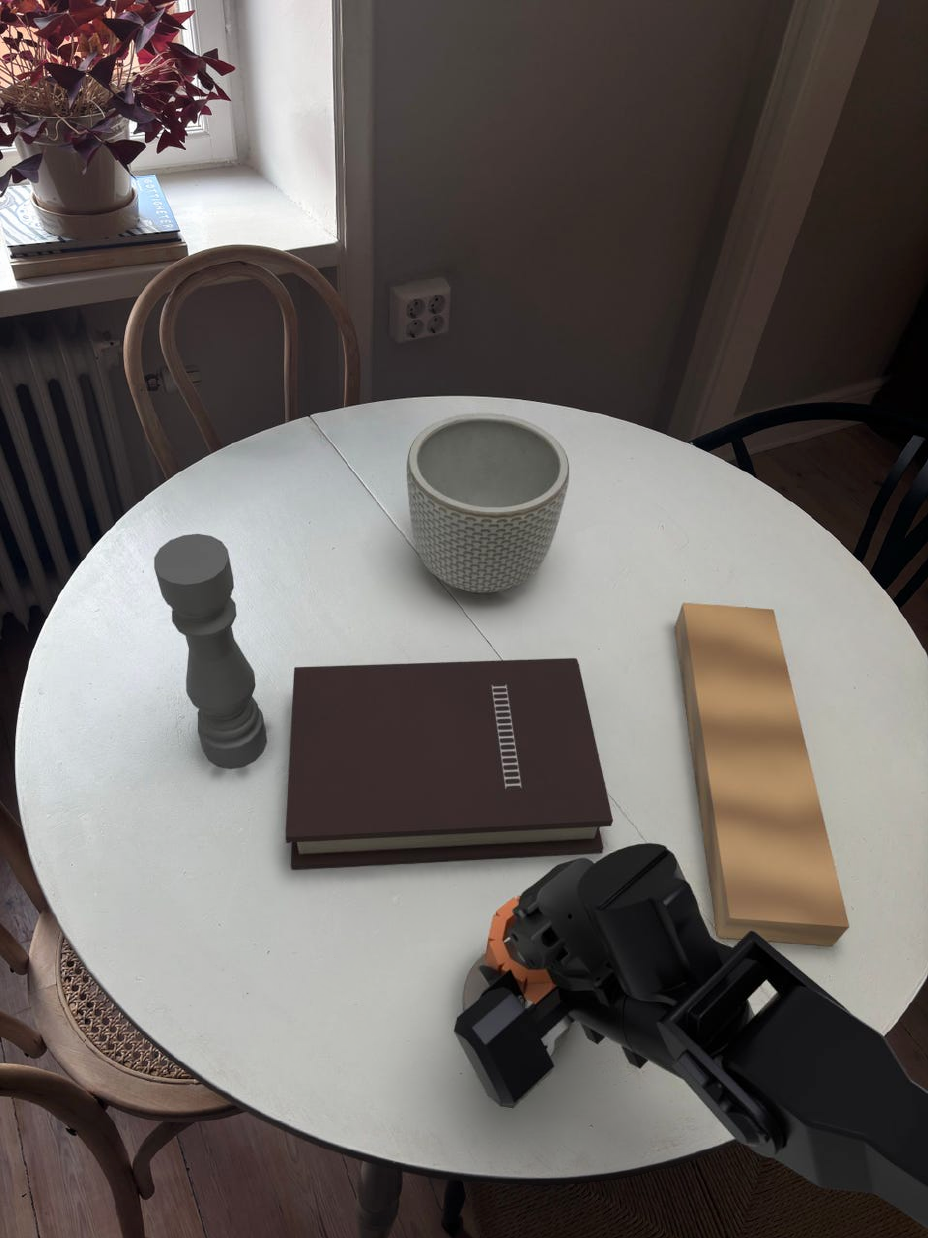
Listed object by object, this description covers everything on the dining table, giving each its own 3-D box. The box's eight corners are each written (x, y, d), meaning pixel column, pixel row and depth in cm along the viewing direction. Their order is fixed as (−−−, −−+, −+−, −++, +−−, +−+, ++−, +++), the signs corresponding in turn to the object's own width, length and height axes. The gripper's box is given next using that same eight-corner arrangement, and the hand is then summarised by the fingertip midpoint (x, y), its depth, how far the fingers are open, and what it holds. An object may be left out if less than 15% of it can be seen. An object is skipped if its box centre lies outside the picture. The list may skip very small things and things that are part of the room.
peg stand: (596, 1011, 73) (621, 958, 65) (514, 1087, 69) (529, 1041, 61) (521, 927, 78) (536, 867, 69) (440, 994, 73) (445, 939, 65)
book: (567, 684, 96) (575, 649, 91) (601, 853, 83) (612, 820, 78) (299, 694, 93) (294, 658, 89) (291, 870, 80) (285, 837, 76)
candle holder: (280, 742, 89) (248, 559, 70) (228, 780, 86) (180, 599, 67) (241, 706, 92) (201, 520, 73) (189, 741, 88) (133, 557, 70)
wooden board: (832, 946, 78) (849, 927, 75) (717, 937, 78) (729, 918, 75) (762, 633, 102) (773, 609, 99) (674, 626, 102) (682, 602, 99)
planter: (526, 640, 99) (543, 532, 88) (382, 595, 103) (379, 486, 91) (569, 542, 110) (589, 434, 99) (437, 504, 114) (442, 396, 102)
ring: (591, 965, 67) (599, 943, 64) (525, 1024, 64) (531, 1004, 61) (532, 901, 70) (538, 877, 67) (467, 954, 67) (470, 931, 64)
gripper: (711, 806, 56) (564, 781, 70) (484, 999, 48) (367, 927, 61) (774, 954, 58) (620, 902, 72) (568, 1164, 50) (437, 1060, 63)
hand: (517, 942), depth 67 cm, fingers closed on ring, 6 cm apart
